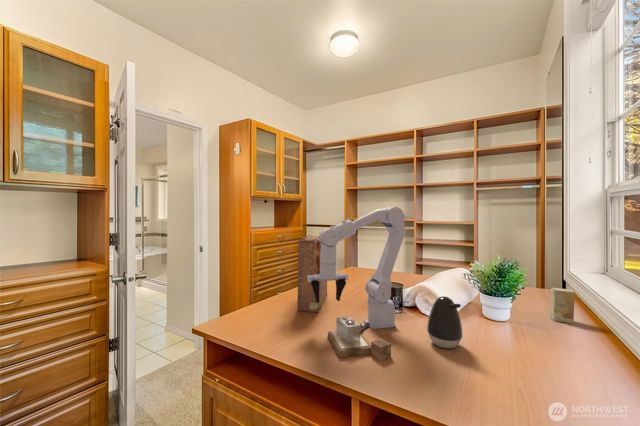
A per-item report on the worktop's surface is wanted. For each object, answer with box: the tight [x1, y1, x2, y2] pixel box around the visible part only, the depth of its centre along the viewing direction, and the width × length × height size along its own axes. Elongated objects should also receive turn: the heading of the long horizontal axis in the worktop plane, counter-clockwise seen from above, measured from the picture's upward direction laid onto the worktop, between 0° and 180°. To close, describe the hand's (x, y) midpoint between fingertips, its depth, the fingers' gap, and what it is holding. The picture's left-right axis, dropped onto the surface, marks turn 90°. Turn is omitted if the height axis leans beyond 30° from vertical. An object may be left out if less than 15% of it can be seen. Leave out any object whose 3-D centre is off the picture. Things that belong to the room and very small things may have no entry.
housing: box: [335, 315, 362, 344], centre depth 86 cm, size 4×8×6 cm, turn 23°
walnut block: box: [370, 338, 392, 362], centre depth 79 cm, size 4×4×4 cm
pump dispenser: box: [426, 295, 464, 349], centre depth 86 cm, size 10×10×15 cm
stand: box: [327, 330, 371, 359], centre depth 85 cm, size 10×13×2 cm
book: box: [297, 234, 328, 313], centre depth 125 cm, size 25×9×30 cm, turn 171°
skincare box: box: [549, 287, 576, 324], centre depth 107 cm, size 6×4×12 cm
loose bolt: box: [358, 322, 370, 332], centre depth 97 cm, size 6×3×3 cm, turn 140°
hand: (327, 300), depth 97 cm, fingers open, 7 cm apart
